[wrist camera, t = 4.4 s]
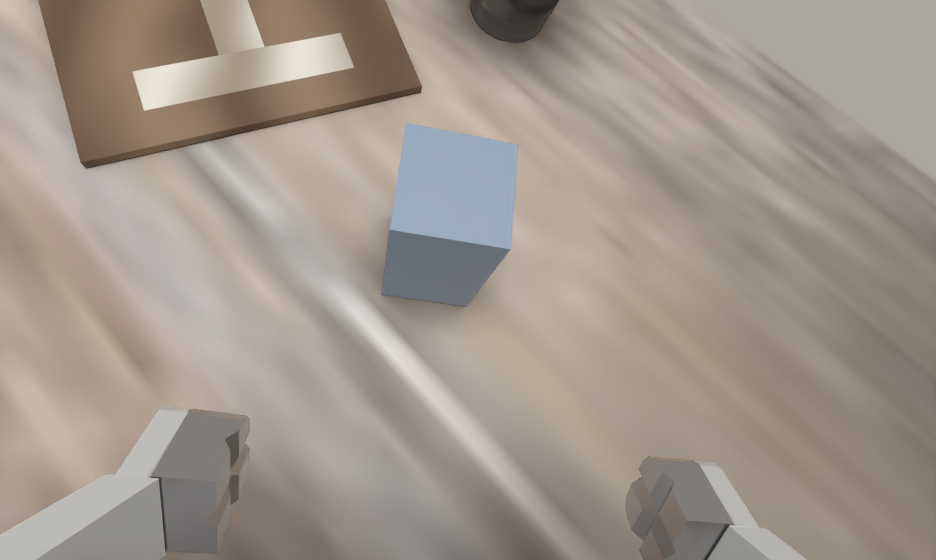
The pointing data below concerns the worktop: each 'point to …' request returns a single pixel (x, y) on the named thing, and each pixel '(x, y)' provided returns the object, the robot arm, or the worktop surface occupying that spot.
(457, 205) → the slate block
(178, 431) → the robot arm
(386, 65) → the board
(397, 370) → the worktop surface
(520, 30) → the beverage cup
